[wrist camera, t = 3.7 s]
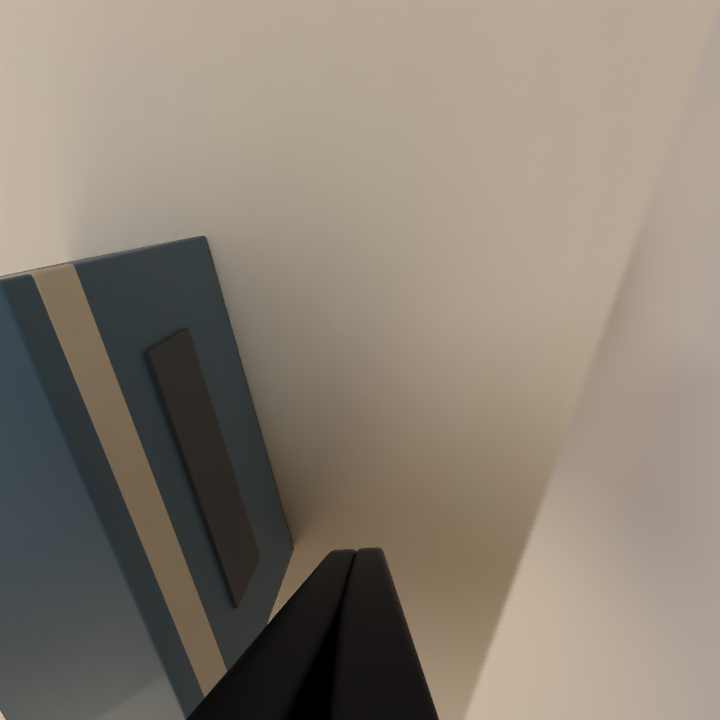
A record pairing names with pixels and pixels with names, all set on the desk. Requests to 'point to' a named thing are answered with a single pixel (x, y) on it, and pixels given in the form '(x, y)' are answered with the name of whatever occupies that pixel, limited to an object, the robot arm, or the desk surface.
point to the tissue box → (128, 489)
